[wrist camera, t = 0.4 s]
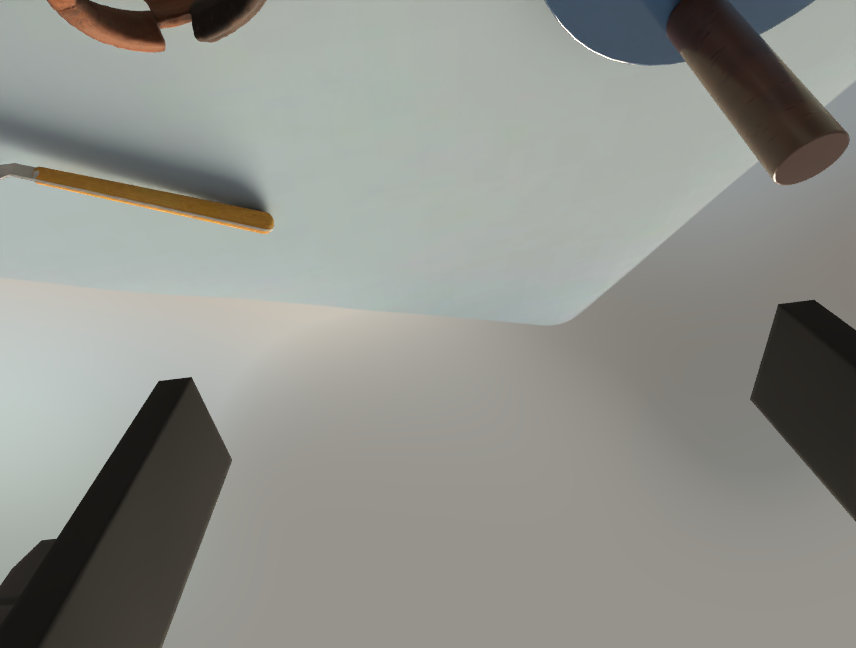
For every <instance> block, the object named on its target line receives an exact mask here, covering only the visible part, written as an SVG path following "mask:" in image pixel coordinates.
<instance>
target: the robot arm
mask: <svg viewBox="0 0 856 648" xmlns="http://www.w3.org/2000/svg"><path fill="white" fill-rule="evenodd" d="M750 400H751V401H752V402H753V403H754V404H755V405H756V407H757V408H758V409H759V410H760V411H761V412H762V413H763V415H764V416H765V417H766V418H767V419H768V420H769V422H770V423H771V424H772V425H773V426H774V427H775V429H776V430H777V431H778V432H779V433H780V434H781V435H782V436H783V438H784V439H785V440H786V441H787V442H788V444H789V445H790V446H791V447H792V448H793V449H794V450H795V452H796V453H797V454H798V455H799V456H800V457H801V458H802V460H803V461H804V462H805V463H806V464H807V466H808V467H809V468H810V469H811V470H812V471H813V472H814V474H815V475H816V476H817V477H818V478H819V479H820V481H821V482H822V483H823V484H824V485H825V486H826V488H827V489H828V490H829V491H830V492H831V493H832V495H833V496H834V497H835V498H836V499H837V500H838V501H839V503H840V504H841V505H842V506H843V507H844V508H845V510H846V511H847V512H848V513H849V514H850V515H851V516H852V518H853V519H854V520H855V521H856V330H855V329H853V328H852V327H850V326H849V325H848V324H846V323H845V322H844V321H842V320H841V319H840V318H838V317H837V316H836V315H834V314H833V313H831V312H830V311H829V310H827V309H826V308H824V307H823V306H822V305H820V304H819V303H818V302H816V301H815V300H809V301H801V302H793V303H785V304H778V307H777V311H776V314H775V318H774V321H773V324H772V328H771V331H770V334H769V338H768V342H767V344H766V348H765V351H764V355H763V358H762V361H761V365H760V368H759V372H758V375H757V378H756V381H755V385H754V388H753V391H752V395H751V398H750ZM231 462H232V459H231V457H230V455H229V453H228V451H227V449H226V446H225V445H224V442H223V440H222V438H221V436H220V434H219V432H218V430H217V428H216V426H215V424H214V422H213V420H212V418H211V416H210V414H209V412H208V410H207V408H206V406H205V404H204V402H203V400H202V398H201V395H200V393H199V391H198V390H197V387H196V385H195V383H194V381H193V379H192V377H189V378H181V379H173V380H165V381H159V382H158V383H157V385H156V386H155V388H154V389H153V391H152V392H151V394H150V396H149V397H148V399H147V400H146V402H145V403H144V405H143V407H142V408H141V410H140V411H139V413H138V414H137V416H136V417H135V419H134V420H133V422H132V424H131V425H130V427H129V428H128V430H127V431H126V433H125V434H124V436H123V437H122V439H121V440H120V442H119V444H118V445H117V447H116V448H115V450H114V451H113V453H112V454H111V456H110V457H109V459H108V461H107V462H106V464H105V465H104V467H103V468H102V470H101V471H100V473H99V475H98V476H97V477H96V479H95V481H94V482H93V484H92V485H91V487H90V488H89V490H88V492H87V493H86V495H85V496H84V498H83V499H82V501H81V502H80V504H79V506H78V507H77V508H76V510H75V512H74V513H73V515H72V516H71V518H70V520H69V521H68V523H67V524H66V525H65V527H64V528H63V530H62V532H61V533H60V535H59V536H58V538H57V539H50V540H42V541H41V542H40V543H39V544H38V545H36V547H34V548H33V550H31V551H30V552H29V553H28V554H27V555H26V556H25V557H24V558H23V559H22V560H21V561H20V562H19V563H18V564H17V565H16V566H14V567H13V568H12V570H11V571H10V572H9V574H8V576H7V577H6V578H5V580H4V581H3V583H2V584H1V585H0V648H162V645H163V643H164V640H165V637H166V635H167V632H168V629H169V626H170V624H171V621H172V619H173V616H174V613H175V611H176V608H177V605H178V603H179V600H180V597H181V595H182V592H183V589H184V587H185V584H186V582H187V579H188V576H189V573H190V571H191V568H192V565H193V563H194V560H195V558H196V555H197V552H198V550H199V547H200V544H201V542H202V539H203V536H204V533H205V531H206V528H207V526H208V523H209V520H210V518H211V515H212V512H213V510H214V507H215V504H216V502H217V499H218V497H219V494H220V491H221V488H222V486H223V483H224V480H225V478H226V475H227V473H228V470H229V467H230V465H231Z"/></svg>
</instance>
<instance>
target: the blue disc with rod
mask: <svg viewBox="0 0 856 648" xmlns="http://www.w3.org/2000/svg"><path fill="white" fill-rule="evenodd" d="M544 1H545V2H546V4H547V6H548V7H549V9H550V10H551V12H552V13H553V15H554V16H555V18H556V19H557V21H558V22H559V24H560V25H561V26H562V27H563V28H564V29H565V30H566V31H567V32H568V33H569V34H570V35H571V36H572V37H573V38H574V39H575V40H576V41H578V42H579V43H580V44H582V45H583V46H585V47H586V48H588V49H589V50H591V51H592V52H595V53H597V54H599V55H601V56H604V57H606V58H608V59H611V60H615V61H619V62H623V63H627V64H636V65H648V66H652V65H668V64H676V63H681V62H686V63H687V64H688V65H689V67H690V68H691V70H692V71H693V72H694V74H695V75H696V76H697V78H698V79H699V80H700V82H701V83H702V84H703V86H704V87H705V88H706V90H707V91H708V92H709V94H710V95H711V97H712V98H713V99H714V101H715V102H716V103H717V105H718V106H719V107H720V109H721V110H722V111H723V113H724V114H725V115H726V117H727V118H728V120H729V121H730V122H731V124H732V125H733V126H734V128H735V129H736V130H737V132H738V133H739V134H740V136H741V137H742V138H743V140H744V141H745V142H746V144H747V145H748V147H749V148H750V149H751V151H752V152H753V153H754V155H755V156H756V157H757V159H758V160H759V161H760V163H761V164H762V165H763V167H764V168H765V169H766V171H767V172H768V174H769V175H770V176H771V178H772V179H773V180H774V182H776V183H777V184H780V185H792V184H796V183H799V182H802V181H804V180H807V179H809V178H811V177H813V176H815V175H817V174H819V173H820V172H822V171H823V170H825V169H826V168H828V167H829V166H830V165H832V164H833V163H834V162H835V161H836V160H837V159H838V158H839V157H840V156H841V155H842V154H843V153H844V151H845V150H846V148H847V147H848V144H849V141H850V139H849V135H848V133H847V132H846V131H845V130H844V129H843V128H842V127H841V125H840V124H839V123H838V122H837V121H836V120H835V119H834V118H833V117H832V116H831V114H830V113H829V112H828V111H827V110H826V109H825V108H824V107H823V105H822V104H821V103H820V102H819V101H818V100H817V99H816V98H815V97H814V95H813V94H812V93H811V92H810V91H809V90H808V89H807V88H806V87H805V85H804V84H803V83H802V82H801V81H800V80H799V79H798V78H797V77H796V75H795V74H794V73H793V72H792V71H791V70H790V69H789V68H788V67H787V65H786V64H785V63H784V62H783V61H782V60H781V59H780V58H779V56H778V55H777V54H776V53H775V52H774V51H773V50H772V49H771V48H770V46H769V45H768V44H767V43H766V42H765V41H764V40H763V39H762V38H761V36H760V34H762V33H764V32H766V31H768V30H770V29H771V28H773V27H775V26H776V25H778V24H780V23H781V22H783V21H785V20H786V19H788V18H790V17H791V16H793V15H795V14H796V13H798V12H799V11H801V10H802V9H804V8H805V7H807V6H808V5H809V4H811V3H812V2H814V1H815V0H544Z"/></svg>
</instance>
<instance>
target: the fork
mask: <svg viewBox="0 0 856 648" xmlns="http://www.w3.org/2000/svg"><path fill="white" fill-rule="evenodd" d="M9 176H13V177H17V178H22V179H27V180H31V181H34V182H36V183H38V184H41V185H46V186H50V187H55V188H59V189H64V190H68V191H73V192H77V193H82V194H86V195H91V196H95V197H100V198H104V199H109V200H113V201H118V202H122V203H127V204H131V205H136V206H140V207H145V208H149V209H154V210H158V211H163V212H167V213H172V214H176V215H181V216H185V217H190V218H195V219H199V220H204V221H208V222H213V223H217V224H222V225H226V226H231V227H235V228H240V229H244V230H249V231H253V232H258V233H262V234H266V233H269V232H270V231H271V230H273V227H274V221H273V218H272V216H271V215H270V214H269V213H266V212H263V211H258V210H253V209H248V208H243V207H238V206H233V205H228V204H223V203H218V202H213V201H208V200H203V199H198V198H193V197H188V196H183V195H178V194H173V193H168V192H163V191H158V190H153V189H148V188H143V187H138V186H133V185H128V184H123V183H118V182H113V181H108V180H103V179H98V178H93V177H88V176H83V175H78V174H73V173H68V172H63V171H59V170H54V169H49V168H44V167H36V168H35V167H31V166H26V165H21V164H17V163H13V164H5V165H0V180H1V179H4V178H7V177H9Z"/></svg>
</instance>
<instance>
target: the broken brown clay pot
mask: <svg viewBox="0 0 856 648" xmlns="http://www.w3.org/2000/svg"><path fill="white" fill-rule="evenodd" d="M47 1H48V3H49V4H50V6H51V7H52V8H53V9H54V10H56V11H57V12H58V14H59V15H60V16H61V17H63V18H64V19H65V20H66V21H67V22H68V23H69V24H71V25H72V26H74V27H76V28H77V29H78V30H80V31H82V32H83V33H85V34H86V35H88V36H90V37H92V38H93V39H96V40H98V41H100V42H102V43H106V44H110V45H114V46H116V47H118V48H124V49H128V50H133V51H142V52H162V51H165V40H164V38H163V36H162V34H161V31H160V29H162V28H170V27H176V26H179V25H183V24H185V23H189V22H192V26H193V31H194V36H195V38H196V39H197V40H198V41H200V42H215V41H218V40H220V39H222V38H223V37H226V36H228V35H229V34H231V33H233V32H235V31H236V30H237V29H238V28H240V27H241V26H243V25H244V24H246V23H247V22H248V21H249V20H250V19H251V18H252V17H253V16H255V15H256V13H257V12H258V11H260V9H261V8H262V6H263V5H264V3H265V1H266V0H144V1H145V2H146V3H147V4H148V6H149V8H150V10H151V11H129V10H121V9H116V8H111V7H109V6H105V5H100V4H97V3H95V2H92V1H90V0H47Z"/></svg>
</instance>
